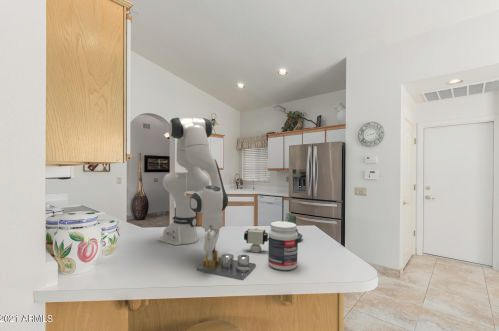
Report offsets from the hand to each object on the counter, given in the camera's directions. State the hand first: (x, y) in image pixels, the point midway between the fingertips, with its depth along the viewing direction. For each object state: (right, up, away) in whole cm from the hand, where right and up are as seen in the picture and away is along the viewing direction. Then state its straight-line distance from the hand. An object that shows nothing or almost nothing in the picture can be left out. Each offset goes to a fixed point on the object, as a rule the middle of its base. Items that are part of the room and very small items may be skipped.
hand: (211, 254), depth 111 cm
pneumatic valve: (+20, -5, +19) cm, 28 cm away
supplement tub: (+31, -6, +2) cm, 32 cm away
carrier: (+7, -5, -3) cm, 9 cm away
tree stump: (+38, -5, +40) cm, 55 cm away
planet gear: (0, -4, 0) cm, 4 cm away
